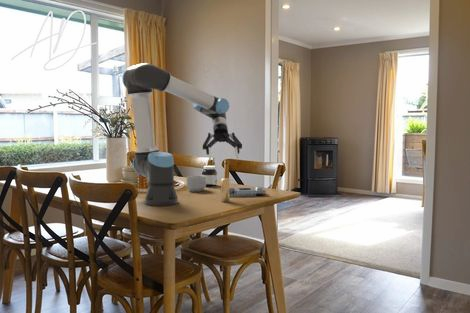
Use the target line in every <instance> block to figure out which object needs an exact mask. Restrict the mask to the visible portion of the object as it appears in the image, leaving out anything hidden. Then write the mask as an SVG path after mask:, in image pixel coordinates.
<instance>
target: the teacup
mask: <svg viewBox="0 0 470 313" xmlns="http://www.w3.org/2000/svg"><path fill="white" fill-rule="evenodd" d="M185 179H186V180H185V181H186V187H187V190H189V191H190V192H193V193H194V192H196V193H197V192H202V191H204V190H205V189H206V188H207V187H206V176H202V174H201V175H190V176H186V177H185Z"/></svg>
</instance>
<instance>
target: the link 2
mask: <svg viewBox="0 0 470 313" xmlns="http://www.w3.org/2000/svg"><path fill="white" fill-rule="evenodd" d="M233 188H234V191H235V192H236V194H256V196H263V195H264V194H266V193H267V190H266V189H265V188H264V187H262V186H257V187H253V186H249V187H233Z"/></svg>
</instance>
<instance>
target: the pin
mask: <svg viewBox="0 0 470 313" xmlns="http://www.w3.org/2000/svg"><path fill="white" fill-rule="evenodd" d="M230 180H231V179H230V178H228V177H222V178H220V194H221V195H220V197H221V198H220V202H221V203H230V198H231V197H230V188H231V186H230V183H231V182H230Z"/></svg>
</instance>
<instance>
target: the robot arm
mask: <svg viewBox="0 0 470 313" xmlns="http://www.w3.org/2000/svg"><path fill="white" fill-rule="evenodd" d="M121 78H122V83H123V86H124V87H125V88H126V90H127V91H126V92H127V96H129V97H130V99H131V105H132V106H131V107H132V113H133V114H132V115H133V123H134V124H133V125H134V130H135V131H134V132H135V138H136V139H135V140H136V149H135V150H134V158H133V160H132V167H133V171H134V172H135V173H136V174H137V175H139V176H140V177H143V178H148V188H147V191H146V194H145V197H144V205H147V206H152V207H153V206H155V207H162V206H163V207H164V206H172V205H176V204H178V200H179V198H178V194H177V191H176V189H175V185H174V184H175V183H174V182H175V179H174V178H175V173H174V172H175V171H174V170H175V169H174V168H175V167H174V166H175V161H174V156H173V154H172V153H170V152H167V151H165V152H164V151H160V150H159V147H157V146H156V144H155V143H156V142H155V135H154V134H155V133H154V124H153V123H154V122H153V117H152V116H153V114H152V108H151V107H152V106H151V98H150V97H151V95H152V94H153V90H156V91H159V92H161V93H163V92H166V93H169V94H171V95H174V96H176V97H178V98H180V99H183V100H184V101H187V102H189V103H192V107H193V109H194V110H196V111H197V112H198V113H201V114H203V115H205V116H206V117H208V118H210V119H211V120H212V128H213V129H212V130H213V133H211V132H208V133H207V138H206V139H205V141H204V142H203V144H202V150H205V151H206V155H207V156H208V160H209V162H210V161H211V160H212V154H211V153H212V152H211V148H212V147H213V146H214V145H215V144H216V143H224V142H226V143H227V144H229V145H230V146H231V147H233V148H234V153H235V160H236V161H238V160H239V155H240V150H241V149H242V148H243V144H242V142H241V141H240V140H239V139H238V137H237V136H236V135H235V133H234V132H231V133H229V129H228V122H227V115H226V113H227V112H228V111H229V108H230V102H229V100H227V99H226V98H224V97H217V96H215V95H212V94H210V93H208V92H206V91H204V90H202V89H200V88H198V87H196V86H194V85H191V84H189V83H187V82H184V81H183V80H181V79H179V78H176V77H175V76H172V74H171V72H169V71H166V69H164V68H161V67H159V66H156V65H154V64H153V63H152V64H151V63H148V62H144V63H143V62H142V63H138V64H136V65H135V64H133V65H131V66H129V67H128V68H126V69H125V70H124V71H123V74H122V77H121ZM212 138H213V139H212ZM211 139H212V140H211Z"/></svg>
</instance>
